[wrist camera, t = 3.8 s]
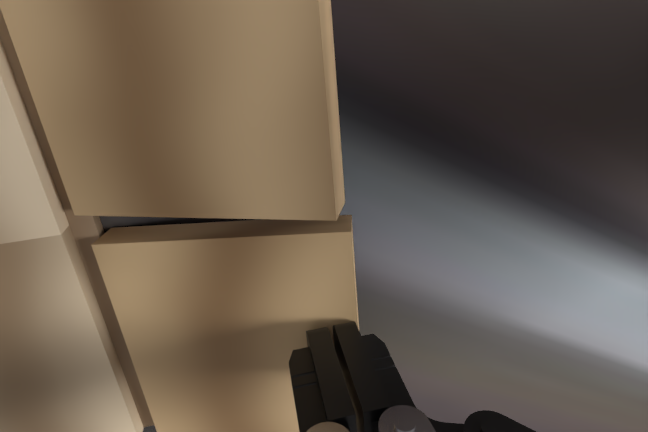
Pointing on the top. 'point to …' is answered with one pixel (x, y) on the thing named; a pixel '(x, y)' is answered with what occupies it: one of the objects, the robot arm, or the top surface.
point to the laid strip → (53, 290)
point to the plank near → (187, 105)
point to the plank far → (226, 313)
